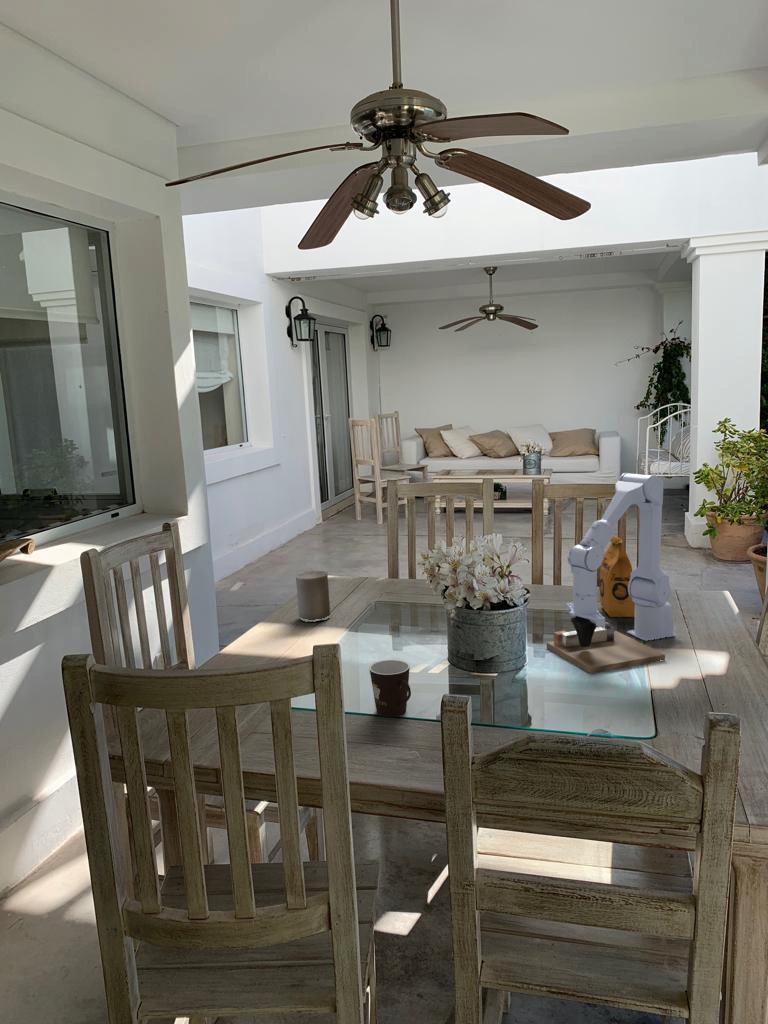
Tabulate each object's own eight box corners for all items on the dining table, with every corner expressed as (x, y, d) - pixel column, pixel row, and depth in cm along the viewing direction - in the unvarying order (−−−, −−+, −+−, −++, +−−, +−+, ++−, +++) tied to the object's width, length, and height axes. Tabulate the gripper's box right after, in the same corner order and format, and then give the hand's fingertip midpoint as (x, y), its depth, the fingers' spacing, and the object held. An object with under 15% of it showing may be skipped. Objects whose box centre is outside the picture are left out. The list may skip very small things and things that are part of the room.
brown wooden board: (616, 636, 210) (616, 620, 209) (664, 660, 191) (665, 642, 191) (546, 647, 204) (546, 631, 203) (590, 673, 185) (590, 655, 184)
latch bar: (609, 635, 205) (609, 620, 205) (616, 639, 202) (616, 623, 202) (560, 643, 201) (559, 628, 200) (566, 647, 198) (566, 631, 197)
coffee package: (602, 618, 226) (603, 543, 222) (597, 606, 238) (597, 534, 234) (638, 618, 224) (639, 543, 221) (631, 606, 236) (632, 534, 233)
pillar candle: (337, 615, 240) (334, 567, 238) (317, 624, 232) (314, 575, 229) (311, 612, 245) (308, 565, 243) (291, 620, 237) (288, 572, 235)
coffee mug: (370, 704, 173) (368, 661, 172) (409, 701, 174) (407, 658, 172) (373, 727, 162) (371, 681, 160) (415, 724, 163) (413, 678, 161)
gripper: (555, 588, 200) (555, 639, 202) (587, 602, 186) (587, 657, 188) (579, 584, 202) (579, 635, 204) (612, 599, 188) (612, 653, 190)
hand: (585, 646), depth 196 cm, fingers closed
